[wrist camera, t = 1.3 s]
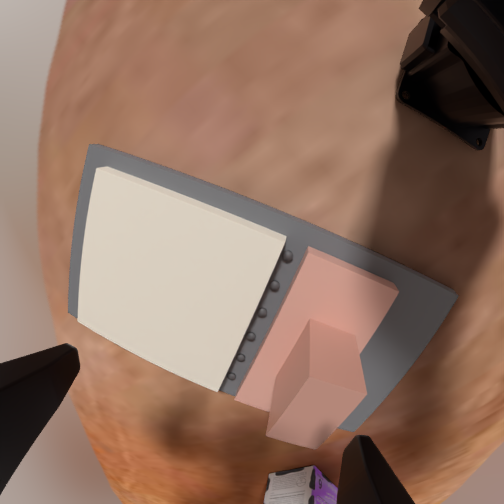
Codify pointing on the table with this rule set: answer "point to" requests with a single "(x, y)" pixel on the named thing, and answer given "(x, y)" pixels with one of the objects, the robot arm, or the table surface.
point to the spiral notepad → (172, 276)
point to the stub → (316, 349)
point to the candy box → (300, 487)
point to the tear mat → (297, 240)
